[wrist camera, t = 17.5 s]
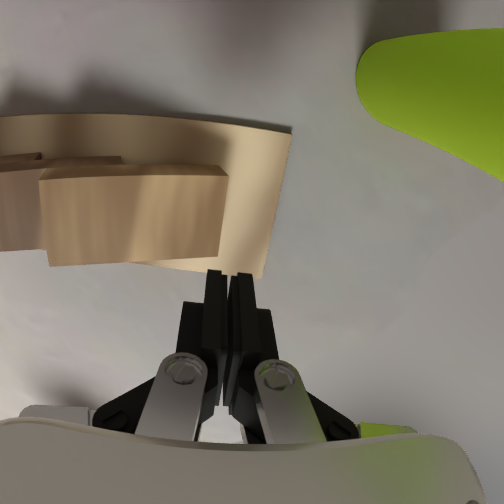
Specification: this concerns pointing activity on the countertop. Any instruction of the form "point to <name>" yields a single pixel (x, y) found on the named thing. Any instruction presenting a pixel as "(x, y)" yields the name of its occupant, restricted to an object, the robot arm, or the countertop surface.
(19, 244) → the domino
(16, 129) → the runner
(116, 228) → the domino
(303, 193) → the countertop surface
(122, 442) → the robot arm
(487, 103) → the soap dispenser
